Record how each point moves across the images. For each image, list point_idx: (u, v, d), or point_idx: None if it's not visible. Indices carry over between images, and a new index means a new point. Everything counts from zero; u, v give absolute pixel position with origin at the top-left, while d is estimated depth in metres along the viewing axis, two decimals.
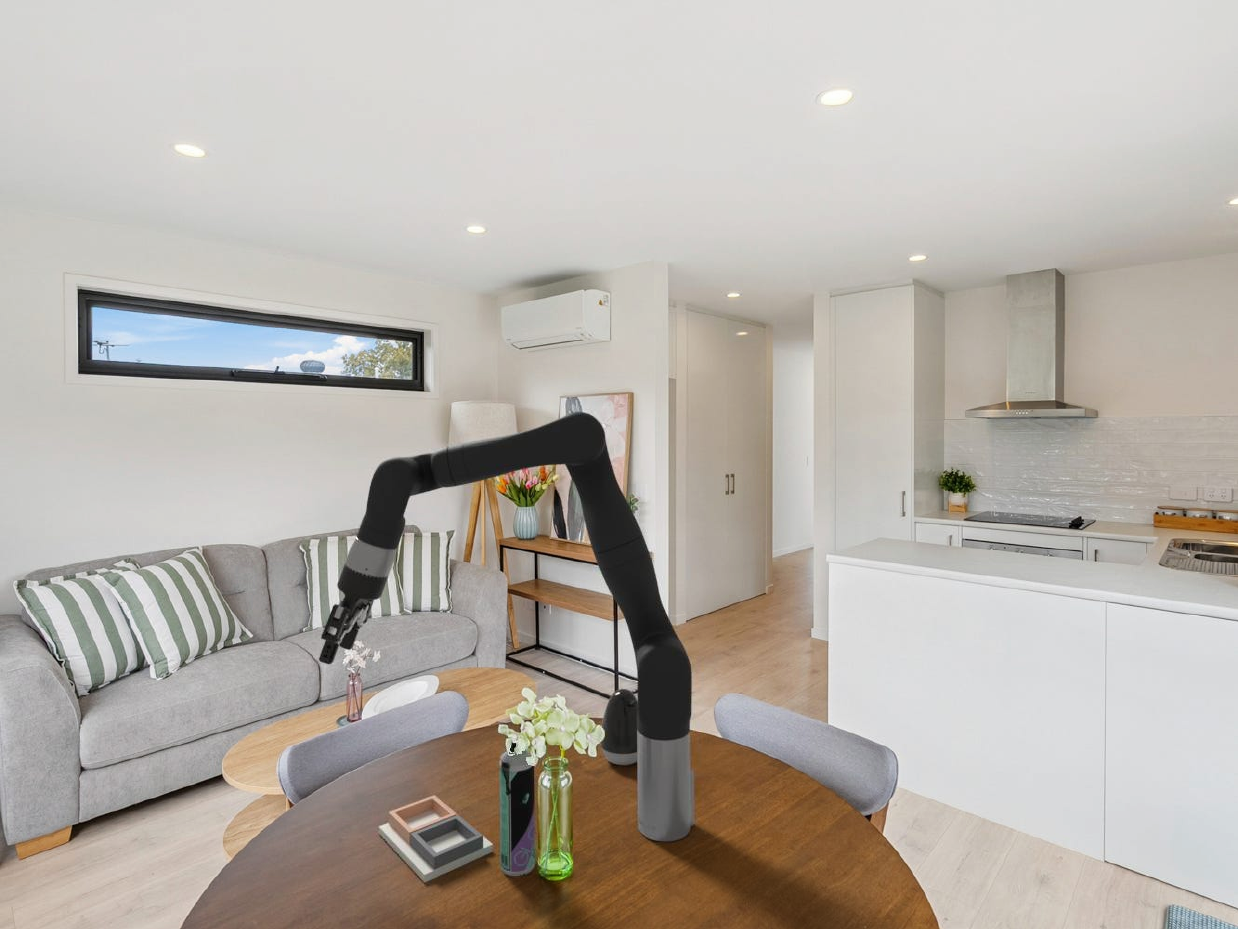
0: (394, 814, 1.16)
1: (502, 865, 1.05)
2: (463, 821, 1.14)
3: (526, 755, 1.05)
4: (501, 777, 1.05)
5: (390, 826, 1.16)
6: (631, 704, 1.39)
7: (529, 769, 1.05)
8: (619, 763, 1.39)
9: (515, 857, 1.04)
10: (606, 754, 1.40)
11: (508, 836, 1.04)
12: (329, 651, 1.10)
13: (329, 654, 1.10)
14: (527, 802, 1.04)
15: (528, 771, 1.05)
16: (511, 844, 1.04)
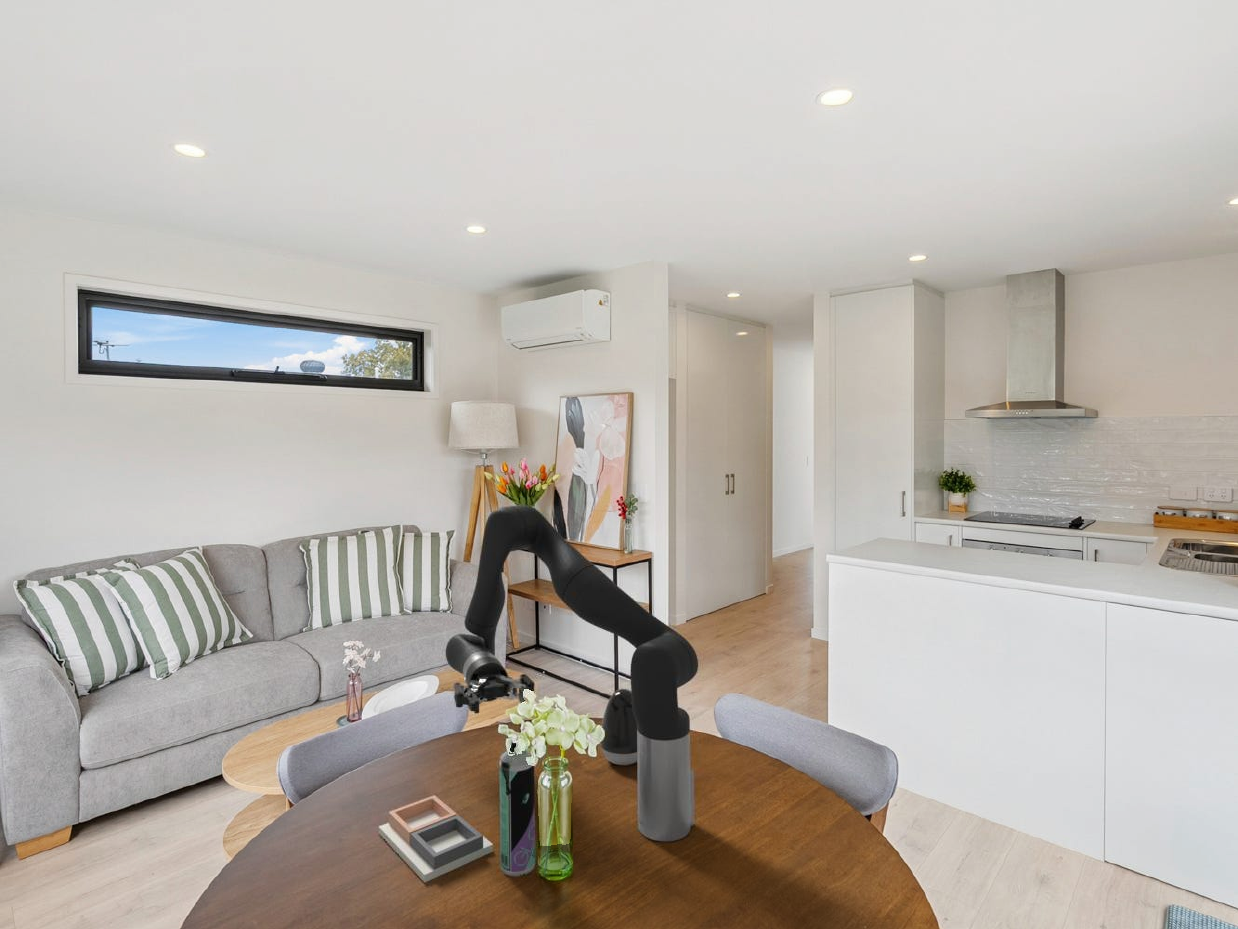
0: (394, 814, 1.16)
1: (502, 865, 1.05)
2: (463, 821, 1.14)
3: (526, 755, 1.05)
4: (501, 777, 1.05)
5: (390, 826, 1.16)
6: (631, 704, 1.39)
7: (529, 769, 1.05)
8: (619, 763, 1.39)
9: (515, 857, 1.04)
10: (606, 754, 1.40)
11: (508, 835, 1.04)
12: (469, 702, 1.17)
13: (469, 702, 1.16)
14: (527, 802, 1.04)
15: (528, 771, 1.05)
16: (511, 844, 1.04)
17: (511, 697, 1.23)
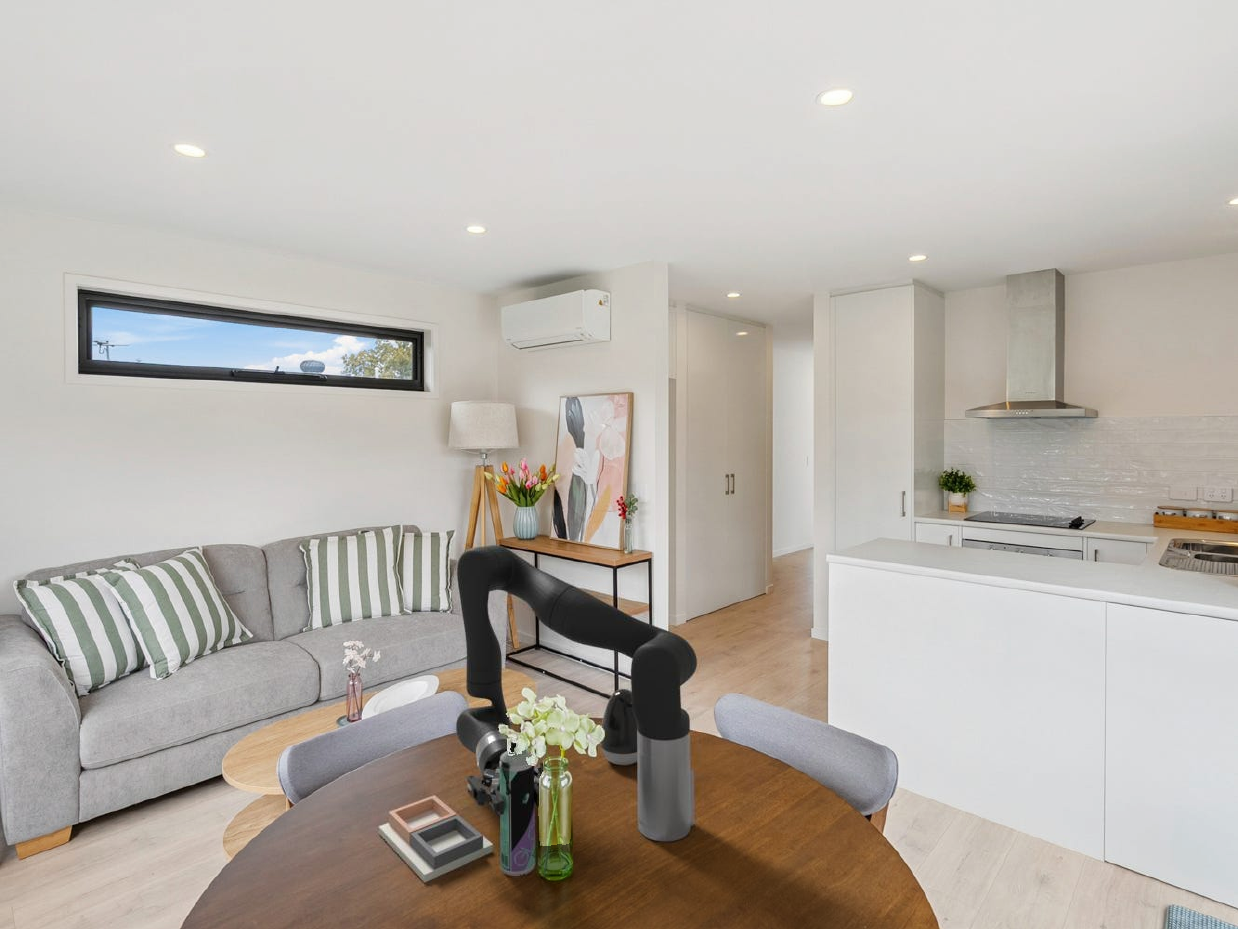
0: (394, 814, 1.16)
1: (502, 865, 1.05)
2: (463, 821, 1.14)
3: (526, 755, 1.05)
4: (501, 777, 1.05)
5: (390, 826, 1.16)
6: (631, 704, 1.39)
7: (529, 769, 1.05)
8: (619, 763, 1.39)
9: (516, 857, 1.04)
10: (606, 754, 1.40)
11: (508, 835, 1.04)
12: (492, 800, 1.05)
13: (492, 801, 1.04)
14: (527, 802, 1.04)
15: (529, 770, 1.05)
16: (511, 844, 1.04)
17: None
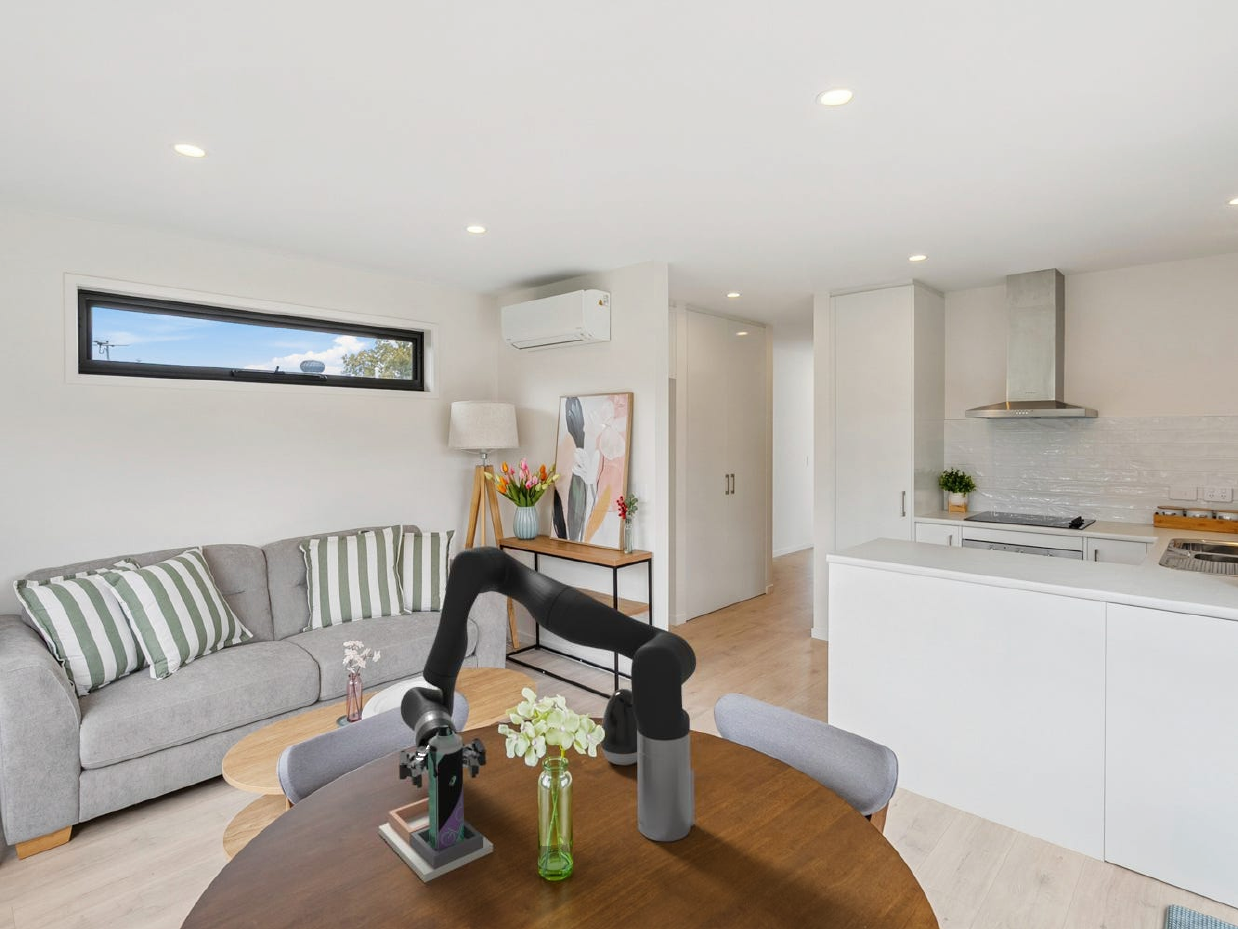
0: (394, 814, 1.16)
1: (430, 845, 1.08)
2: None
3: (454, 739, 1.09)
4: (429, 760, 1.08)
5: (390, 826, 1.16)
6: (631, 704, 1.39)
7: (456, 753, 1.08)
8: (619, 763, 1.39)
9: (442, 837, 1.07)
10: (606, 754, 1.40)
11: (435, 817, 1.07)
12: (412, 774, 1.08)
13: (411, 775, 1.08)
14: (454, 784, 1.08)
15: (456, 754, 1.08)
16: (438, 825, 1.07)
17: None
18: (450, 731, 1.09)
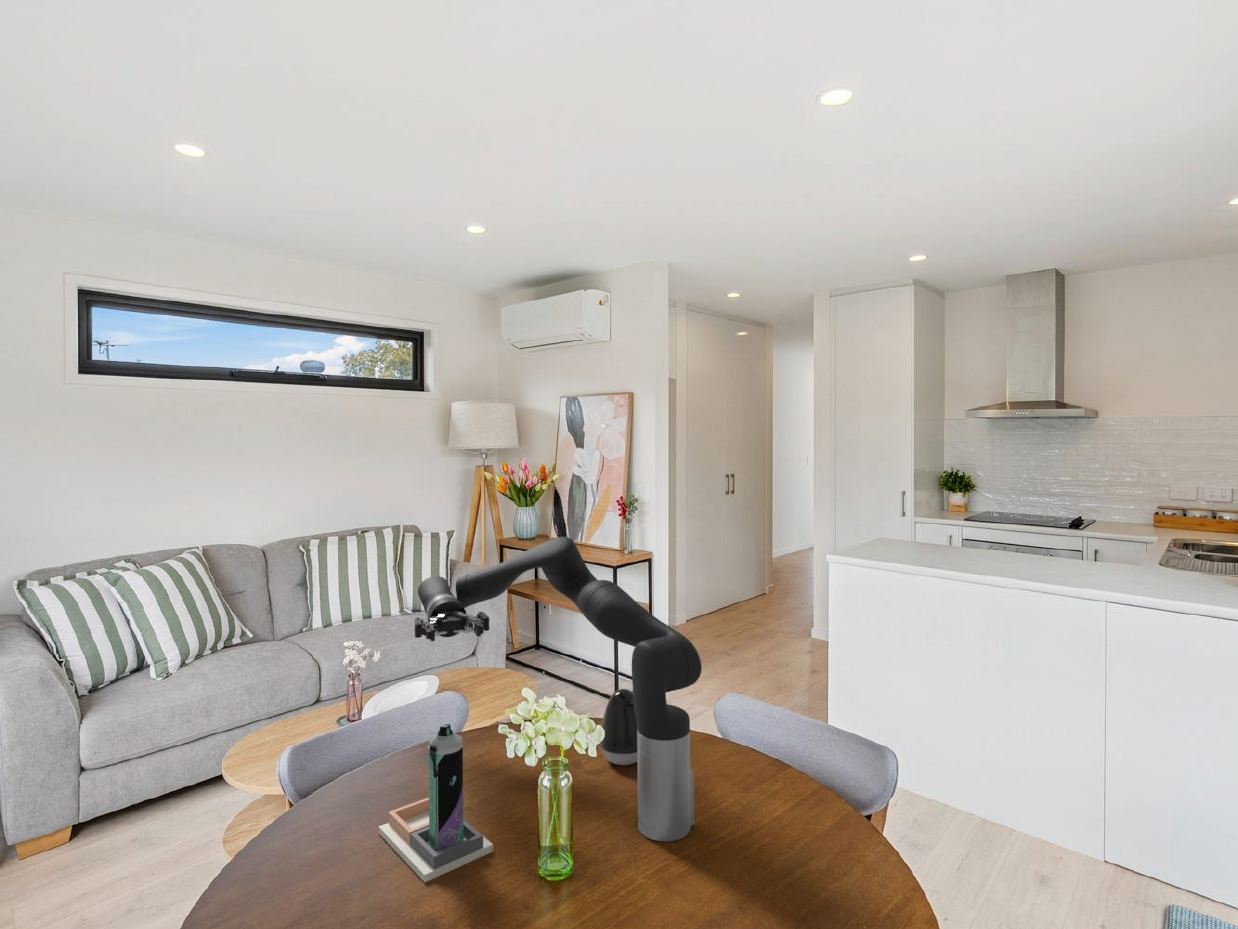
0: (394, 814, 1.16)
1: (430, 845, 1.08)
2: None
3: (454, 739, 1.09)
4: (429, 760, 1.08)
5: (390, 826, 1.16)
6: (631, 704, 1.39)
7: (456, 753, 1.08)
8: (619, 763, 1.39)
9: (442, 837, 1.07)
10: (606, 754, 1.40)
11: (435, 817, 1.07)
12: (426, 631, 1.26)
13: (426, 631, 1.26)
14: (454, 784, 1.08)
15: (456, 754, 1.08)
16: (438, 825, 1.07)
17: (467, 630, 1.32)
18: (450, 731, 1.09)
